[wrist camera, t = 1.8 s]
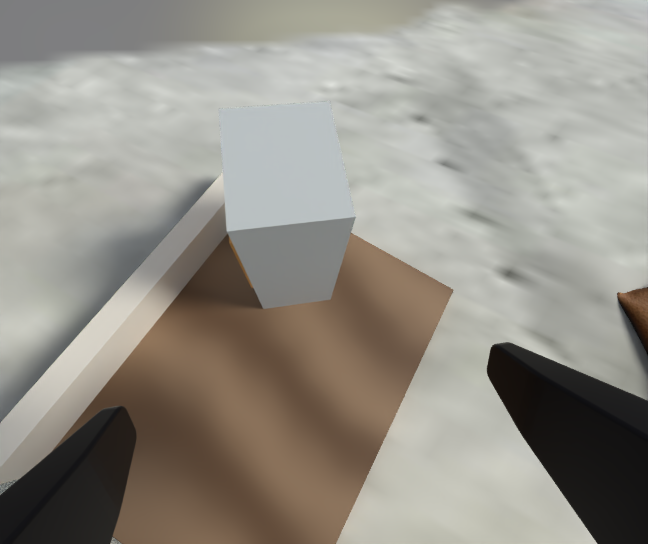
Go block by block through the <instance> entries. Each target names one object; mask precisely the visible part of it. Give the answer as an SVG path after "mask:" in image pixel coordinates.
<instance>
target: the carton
mask: <svg viewBox="0 0 648 544" xmlns="http://www.w3.org/2000/svg"><path fill="white" fill-rule="evenodd" d="M219 122H220V137H221V152H222V167H223V182H224V197H225V212H226V227H227V233H228V235H229V244H230V246H231V248H232V250H233V252H234V254H235V256H236V258H237V260H238V262H239V264H240V266H241V268H242V270H243V272H244V274H245V276H246V278H247V280H248V282H249V284H250V286H251V288H254V290H255V292H256V294H257V296H258V299H259V301H260V303H261V305H262V307H263V309H267V308H274V307H282V306H289V305H296V304H303V303H310V302H317V301H324V300H331V296H332V293H333V290H334V286H335V283H336V280H337V277H338V273H339V270H340V267H341V264H342V260H343V257H344V254H345V250H346V247H347V244H348V241H349V237H350V234H351V231H352V227H353V224H354V221H355V218H356V216H355V211H354V207H353V202H352V198H351V193H350V189H349V184H348V180H347V175H346V171H345V166H344V162H343V157H342V153H341V148H340V144H339V139H338V135H337V130H336V126H335V121H334V117H333V112H332V108H331V103H330V101H322V102H307V103H293V104H279V105H264V106H250V107H236V108H221V109H219Z"/></svg>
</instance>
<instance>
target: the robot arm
mask: <svg viewBox="0 0 648 544" xmlns="http://www.w3.org/2000/svg"><path fill="white" fill-rule="evenodd" d="M487 374H488V377H489V379H490V381H491V383H492V384H493V386H494V388H495V390H496V392H497V393H498V395H499V397H500V399H501V400H502V402H503V404H504V406H505V407H506V409H507V411H508V413H509V414H510V416H511V418H512V420H513V421H514V423H515V425H516V426H517V428H518V430H519V431H520V433H521V435H522V436H523V438H524V439H525V441H526V442H527V444H528V445H529V446H530V448H531V449H532V451H533V452H534V454H535V455H536V456H537V458H538V459H539V461H540V462H541V464H542V465H543V466H544V468H545V469H546V471H547V472H548V474H549V475H550V476H551V478H552V479H553V481H554V482H555V484H556V485H557V486H558V488H559V489H560V491H561V492H562V494H563V495H564V496H565V498H566V499H567V501H568V502H569V504H570V505H571V507H572V508H573V509H574V511H575V512H576V514H577V515H578V517H579V518H580V519H581V521H582V522H583V524H584V525H585V527H586V528H587V529H588V531H589V532H590V534H591V535H592V537H593V538H594V539H595V541H596V542H597V544H648V401H647V400H645V399H643V398H640V397H638V396H636V395H633V394H631V393H628V392H626V391H624V390H621V389H619V388H617V387H614V386H612V385H610V384H607V383H605V382H602V381H600V380H598V379H595V378H593V377H591V376H588V375H586V374H583V373H581V372H579V371H576V370H574V369H572V368H569V367H567V366H564V365H562V364H560V363H557V362H555V361H553V360H550V359H548V358H545V357H543V356H541V355H538V354H536V353H534V352H531V351H529V350H526V349H524V348H522V347H519V346H517V345H515V344H512V343H509V342H505V343H499V344H494V345H493V346H492V347H491V350H490V355H489V360H488V365H487ZM136 440H137V433H136V429H135V426H134V424H133V422H132V420H131V418H130V415H129V413H128V411H127V409H126V408H125V407H124V406H115V407H109V408H104V409H102V410H101V411H99V412H98V413H97V414H96V415H95V416H93V417H92V418H91V419H90V420H89V421H88V422H86V423H85V424H84V425H83V426H82V427H80V428H79V429H78V430H77V431H76V432H75V433H73V434H72V435H71V436H70V437H69V438H67V439H66V440H65V441H64V442H63V443H61V444H60V445H59V446H58V447H57V448H56V449H54V450H53V451H52V452H51V453H50V454H48V455H47V456H46V457H45V458H44V459H42V460H41V461H40V462H39V463H38V464H37V465H35V466H34V467H33V468H32V469H31V470H29V471H28V472H27V473H26V474H25V475H24V476H22V477H21V478H20V479H19V480H18V481H16V482H15V483H14V484H13V485H12V486H10V487H9V488H8V489H7V490H6V491H5V492H3V493H2V494H1V495H0V544H110V542H111V539H112V536H113V533H114V530H115V527H116V524H117V521H118V517H119V514H120V510H121V506H122V502H123V498H124V494H125V489H126V485H127V480H128V476H129V471H130V467H131V462H132V458H133V454H134V449H135V445H136Z"/></svg>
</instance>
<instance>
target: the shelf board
mask: <svg viewBox="0 0 648 544" xmlns="http://www.w3.org/2000/svg"><path fill="white" fill-rule="evenodd" d="M452 292H453V289H451V288H449V287H447V286H446V285H444V284H442V283H440V282H438V281H437V280H435V279H433V278H431V277H429V276H428V275H426V274H424V273H422V272H420V271H419V270H417V269H415V268H413V267H411V266H410V265H408V264H406V263H404V262H402V261H401V260H399V259H397V258H395V257H393V256H392V255H390V254H388V253H386V252H384V251H383V250H381V249H379V248H377V247H376V246H374V245H372V244H370V243H368V242H367V241H365V240H363V239H361V238H359V237H358V236H356V235H354V234H352V233H351V234H350V237H349V241H348V244H347V247H346V250H345V254H344V257H343V260H342V264H341V267H340V270H339V273H338V277H337V280H336V283H335V286H334V290H333V293H332V296H331V300H324V301H317V302H310V303H303V304H296V305H289V306H282V307H274V308H267V309H263V307H262V305H261V303H260V301H259V299H258V296H257V294H256V292H255V290H254V288H251V286H250V284H249V282H248V280H247V278H246V276H245V274H244V272H243V270H242V268H241V266H240V264H239V262H238V260H237V258H236V256H235V254H234V252H233V250H232V248H231V246H230V244H229V235H228V234H227V235H226V236H225V237H224V239H223V240H222V241H221V242H220V243H219V245H218V246H217V247H216V248H215V250H214V251H213V252H212V253H211V255H210V256H209V257H208V258H207V260H206V261H205V262H204V263H203V265H202V266H201V267H200V268H199V269H198V271H197V272H196V273H195V274H194V276H193V277H192V278H191V279H190V281H189V282H188V283H187V284H186V286H185V287H184V288H183V289H182V291H181V292H180V293H179V294H178V296H177V297H176V298H175V299H174V300H173V302H172V303H171V304H170V305H169V307H168V308H167V309H166V310H165V312H164V313H163V314H162V315H161V317H160V318H159V319H158V320H157V322H156V323H155V324H154V325H153V327H152V328H151V329H150V330H149V331H148V333H147V334H146V335H145V336H144V338H143V339H142V340H141V341H140V343H139V344H138V345H137V346H136V348H135V349H134V350H133V351H132V353H131V354H130V355H129V356H128V357H127V359H126V360H125V361H124V362H123V364H122V365H121V366H120V367H119V369H118V370H117V371H116V372H115V374H114V375H113V376H112V377H111V379H110V380H109V381H108V382H107V384H106V385H105V386H104V387H103V388H102V390H101V391H100V392H99V393H98V395H97V396H96V397H95V398H94V400H93V401H92V402H91V403H90V405H89V406H88V407H87V408H86V410H85V411H84V412H83V413H82V414H81V416H80V417H79V418H78V419H77V421H76V422H75V423H74V424H73V426H72V427H71V428H70V429H69V431H68V432H67V433H66V434H65V436H64V437H63V438H62V439H61V441H60V442H59V443H58V444H57V445H56V447H55V448H54V449H56V448H57V447H58V446H59V445H60V444H61V443H63V442H64V441H65V440H66V439H67V438H69V437H70V436H71V435H72V434H73V433H75V432H76V431H77V430H78V429H79V428H80V427H82V426H83V425H84V424H85V423H86V422H88V421H89V420H90V419H91V418H92V417H93V416H95V415H96V414H97V413H98V412H99V411H101V410H102V409H104V408H109V407H115V406H124V407H125V408H126V409H127V411H128V413H129V415H130V418H131V420H132V422H133V424H134V426H135V429H136V433H137V440H136V445H135V449H134V454H133V458H132V462H131V467H130V471H129V476H128V480H127V485H126V489H125V494H124V498H123V502H122V506H121V510H120V514H119V517H118V521H117V524H116V527H115V530H114V533H113V537H114V538H116V539H117V540H118V541H119V542H121V543H122V544H336V542H337V540H338V538H339V536H340V533H341V531H342V529H343V527H344V525H345V523H346V521H347V518H348V516H349V514H350V512H351V510H352V508H353V505H354V503H355V501H356V499H357V497H358V495H359V493H360V490H361V488H362V486H363V484H364V482H365V480H366V477H367V475H368V473H369V471H370V469H371V467H372V465H373V462H374V460H375V458H376V456H377V454H378V452H379V450H380V447H381V445H382V443H383V441H384V439H385V437H386V434H387V432H388V430H389V428H390V426H391V424H392V422H393V419H394V417H395V415H396V413H397V411H398V409H399V406H400V404H401V402H402V400H403V398H404V396H405V394H406V391H407V389H408V387H409V385H410V383H411V381H412V378H413V376H414V374H415V372H416V370H417V368H418V366H419V363H420V361H421V359H422V357H423V355H424V353H425V350H426V348H427V346H428V344H429V342H430V340H431V338H432V335H433V333H434V331H435V329H436V327H437V325H438V322H439V320H440V318H441V316H442V314H443V312H444V310H445V307H446V305H447V303H448V301H449V299H450V297H451V294H452ZM54 449H53V450H54ZM53 450H52V451H53Z"/></svg>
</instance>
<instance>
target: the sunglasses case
mask: <svg viewBox="0 0 648 544" xmlns="http://www.w3.org/2000/svg"><path fill="white" fill-rule="evenodd" d="M617 297H618V300H619V302H620V304H621V306H622V308H623V310H624V311H625V313H626V315H627V316H628V318H629V320H630V322H631V323H632V325H633V327H634V328H635V330H636V332H637V334H638V336H639V338H640V340H641V342H642V344H643V346H644V348H645V350H646V352H647V354H648V287H647V288H642V289H636V290H633V291H630V292H627V293H619V292H618V293H617Z"/></svg>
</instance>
